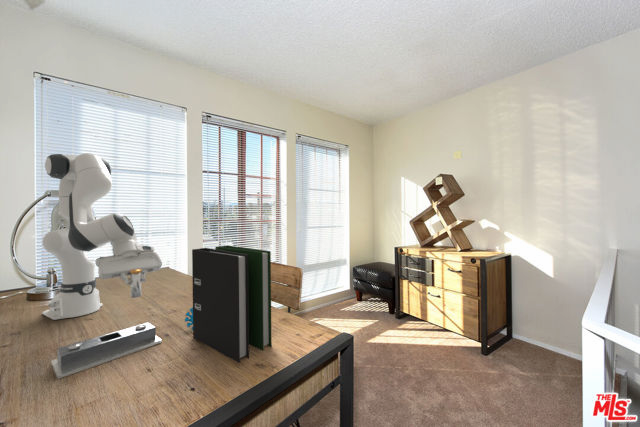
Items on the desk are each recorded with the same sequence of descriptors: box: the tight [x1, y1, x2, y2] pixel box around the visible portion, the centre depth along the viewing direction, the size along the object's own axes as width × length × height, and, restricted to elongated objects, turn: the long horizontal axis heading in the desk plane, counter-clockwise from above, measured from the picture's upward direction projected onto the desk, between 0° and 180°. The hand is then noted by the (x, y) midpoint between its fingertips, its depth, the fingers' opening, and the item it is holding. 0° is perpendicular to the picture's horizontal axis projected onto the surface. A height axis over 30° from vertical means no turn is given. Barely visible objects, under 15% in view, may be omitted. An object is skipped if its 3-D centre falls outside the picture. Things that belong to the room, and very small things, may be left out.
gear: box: [184, 307, 193, 331], centre depth 106 cm, size 11×6×10 cm
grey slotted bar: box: [51, 322, 163, 380], centre depth 86 cm, size 26×12×6 cm, turn 141°
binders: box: [191, 245, 273, 364], centre depth 93 cm, size 27×15×32 cm, turn 51°
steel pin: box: [130, 269, 142, 299], centre depth 101 cm, size 4×4×10 cm
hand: (136, 282), depth 100 cm, fingers closed on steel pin, 3 cm apart
